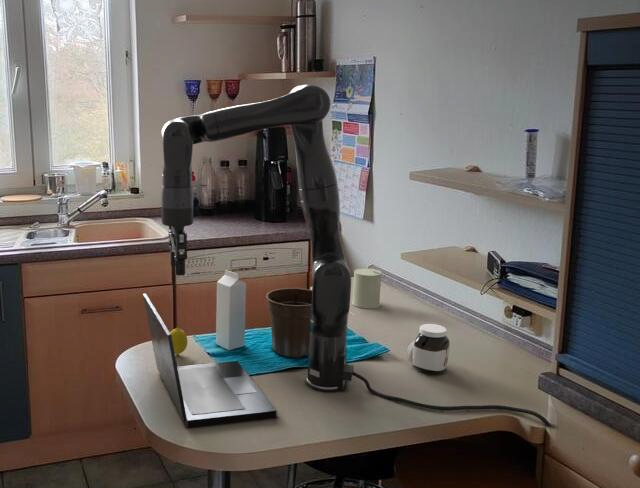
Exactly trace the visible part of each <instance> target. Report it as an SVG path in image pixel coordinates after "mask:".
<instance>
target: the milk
mask: <svg viewBox="0 0 640 488" xmlns="http://www.w3.org/2000/svg"><path fill="white" fill-rule="evenodd" d="M239 277H240V276H239V273H236V272H234V271H230V270H228V269H225V270H224V275H223V276H222V277H221V278H219V279H218V280H217V282H216V310H215V311H216V313H215V314H216V316H215V317H216V318H215V319H216V320H215V321H216V323H215V345H217V346H218V347H221V348H223V349H225V350H227V351H231V350H235V349H239V348H242V347H245V344H246V309H247V307H246V304H247V303H246V302H247V301H246V300H247V283H246V282H244V281H243V280H241V279H239Z"/></svg>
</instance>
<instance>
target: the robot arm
mask: <svg viewBox="0 0 640 488" xmlns="http://www.w3.org/2000/svg"><path fill="white" fill-rule="evenodd" d="M330 109H331V98H330V95H329V94H328V93H327V91H326V89H323V88H322V87H320V86H319V85H316V84H309V83H308V84H300V85H296V86H295V87H293V88H292V89H291V90H290V91H289V92H288V94H285V95H283V96H279V97H277V98H273V99H270V100H264V101H261V102H254V103H247V104H240V105H233V106H229V107H228V106H227V107H225V108H219V109H216V110H212V111H207V112H205V113H202V114H195V115H188V116H181V117H177V118H173V119H170V120H168V121H167V122H166V123H165V124H164V125H163V127H162V129H161V139H162V150H163V151H162V152H163V153H162V154H163V165H162V175H161V176H162V183H161V184H162V187H161V188H162V191H161V223H162V225H163V226H165V227H168V233H167V234H168V247H169V252H170V265H171V267H175V269H174V271H175V272H174V273H175V275H176V276H179V277H180V276H185V275H186V261H187V260H188V233H187V232H186V230H185V227H188V226H191V225H193V224H194V192H193V191H194V190H193V166H192V161H193V152H194V151H193V150H194V149H193V148H194V145H196V144H201V143H206V142H207V143H215V142H220V141H223V140H228V139H233V138H236V137H241V136H243V135H247V134H251V133H255V132H259V131H262V130H266V129H267V130H268V129H271V128H276V127H282V126H290V129H291V133H292V138H293V142H294V149H295V163H296V172H297V181H298V191H299V197H300V204H301V209H302V213H303V217H304V220H305V223H306V227H307V230H308V233H309V238H310V249H311V251H310V252H311V278H312V288H311V290H312V305H311V312H310V334H309V356H307V357H308V358H307V359H308V360H307V377H306V384H307V385H308V386H309V387H310V388H312V389H314V390H317V391H322V392H335V391H336V392H337V391H343V390H344V387H345V383H346V382H352V379H353V377H355V378H357V379H359V380H361V381H362V382H363V383H364V384H365V387H366V389H367V390H368V391H369V392H370V393H371V394H372V395H375V396H378V397H380V398H383V399H386V400H389V401H394V402H395V401H396V402H400V403H404V404H407V405H411V406H415V407H418V408H422V409H428V410H434V411H435V410H436V411H465V410H472V411H473V410H476V411H477V410H480V411H481V410H504V411H511V412H516V413H522V414H527V415H531V416H534V417H536V418H537V419H539V420H540V421H541V422H542V423H543V424H544V425H545V426H546V427H549V428H550V427H552V424H551V423H550V421H549V420H548V419H547V418H546V417H544V416H543V415H541V414H540V413H538V412H536V411H534V410H531V409H526V408H519V407H513V406H507V405H499V404H497V405H496V404H488V405H487V404H486V405H485V404H483V405H451V406H449V405H448V406H446V405H445V406H443V405H433V404H426V403H422V402H418V401H414V400H410V399H406V398H403V397H399V396H394V395H387V394H383V393H380V392H378V391H376V390H374V389H373V388H372V386H371V384H370V382H369V381H368V379H367V378H366V377H364V376H363V375H361V374H359V373H357V372H355V371H354V367H355V365H354V364H349V363H347V356H348V355H347V354H348V347H347V340H348V339H347V337H348V322H349V321H348V320H349V313H350V308H351V296H352V295H351V294H352V274H351V270H350V268H349V266H348V263H347V260H346V257H345V253H344V249H343V244H342V239H341V234H340V233H341V232H340V223H341V221H340V220H341V202H340V191H339V185H338V178H337V174H336V170H335V167H334V164H333V161H332V159H331V156H330V153H329V151H328V147H327V145H326V140H325V135H324V123H323V121H324V119H325V118H326V117H327V116H328V114H329V112H330Z"/></svg>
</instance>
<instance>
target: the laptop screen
mask: <svg viewBox="0 0 640 488" xmlns="http://www.w3.org/2000/svg"><path fill="white" fill-rule="evenodd" d="M142 297H143V302H144V307H145V313H146V318H147V324H148V329H149V333H150V339H151V343H152V349H153V353H154V354H153V355H154V359H155V364H156V369H157V371H158V374H159V375H160V377H161V379H162V381H163V383H164V385H165V387H166V389H167V391H168V393H169V395H170V397H171V399H172V401H173V403H174V405H175V407H176V409H177V411H178V413H179V415H180V417H181V420H182V421H183V422H184V421H187V417H186V412H185V407H184V401H183V396H182V390H181V385H180V379H179V374H178V369H177V366H178V363H177V359H176V354H175V352H174V347H173V341H172V336H171V333H170V332H171V331H170V330H169V329H168V327H167V325H166V324H165V322H164V320H163V319H162V316H160V314H159V312H158V310H157V309H156V308H155V306H154V304H153V303H152V301H151V300H150V298H149V296H148V294H147V293H146V292H145V293H143V294H142Z"/></svg>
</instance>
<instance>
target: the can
mask: <svg viewBox="0 0 640 488" xmlns="http://www.w3.org/2000/svg"><path fill="white" fill-rule="evenodd" d="M382 274H383V272H382V271H381V270H379V269H375V268H369V267H368V268H366V267H363V268H362V267H361V268H356V269H354V270H353V288H352V289H353V291H352V302H351V304H352V305H353V307H356V308H359V309H365V310H367V309H368V310H369V309H370V310H371V309H377V308H379V307H380V306H381V304H380V301H381V287H382Z"/></svg>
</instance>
